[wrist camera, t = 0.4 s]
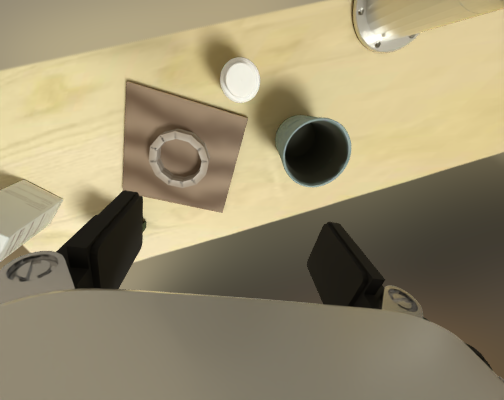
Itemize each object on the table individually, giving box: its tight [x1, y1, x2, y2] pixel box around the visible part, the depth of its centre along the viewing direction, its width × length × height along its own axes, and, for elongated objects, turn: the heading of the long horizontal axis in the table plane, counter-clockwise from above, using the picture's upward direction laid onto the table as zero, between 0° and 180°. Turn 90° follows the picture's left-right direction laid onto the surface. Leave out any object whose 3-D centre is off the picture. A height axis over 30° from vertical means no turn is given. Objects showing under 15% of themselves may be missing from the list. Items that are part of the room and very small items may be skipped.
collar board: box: [123, 81, 248, 213], centre depth 40 cm, size 20×20×4 cm
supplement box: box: [0, 180, 63, 262], centre depth 38 cm, size 7×7×13 cm
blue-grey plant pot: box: [275, 115, 351, 187], centre depth 36 cm, size 10×10×12 cm
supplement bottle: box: [220, 57, 260, 103], centre depth 32 cm, size 6×6×10 cm
